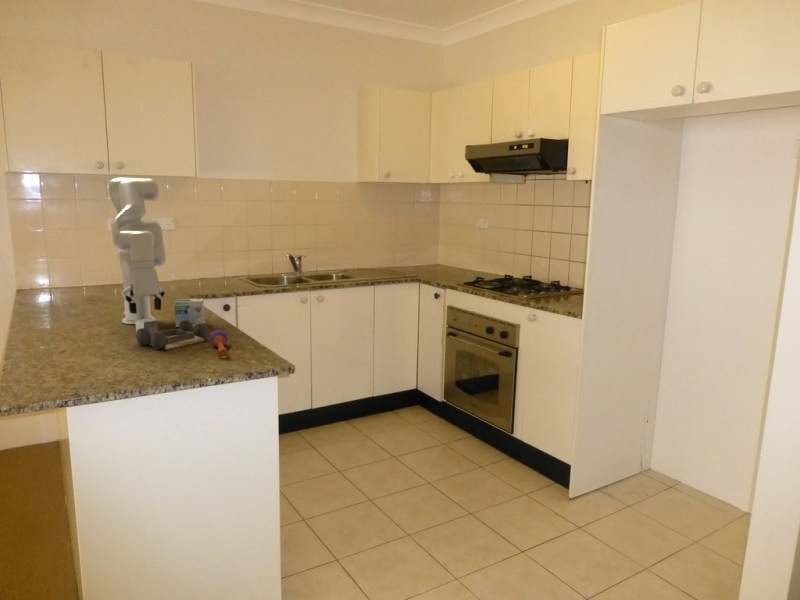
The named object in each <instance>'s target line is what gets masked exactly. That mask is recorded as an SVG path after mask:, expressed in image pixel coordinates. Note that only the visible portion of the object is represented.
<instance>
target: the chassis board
mask: <svg viewBox="0 0 800 600" xmlns="http://www.w3.org/2000/svg"><path fill="white" fill-rule="evenodd" d="M135 335H136V336H135V337H136V340H137V343H138V345H140V344H142V345H144V346H147V344H151V345H152V347H153V349H155V348H157V349H159V350H161V349H162V348H172V347H176V346H181V345H185V344H190V343H194V342H198V341H202V340H204V341H205V340H206V338H207V339H208V336H209V328H208V325H206V323H205V322H204V323H200V324H196V325H195V326H194V327H193V325H192V323H191V322H190V321H189V320H184V321H181V322H180V324H179V328H174V329H167V330H163V331H162V330H161V331H159V330H158V332H154V333H153V334H150V331H149V330H148V329H147V328H141V329H138V330H137V333H136V332H135ZM151 345H150V346H151ZM162 350H163V349H162Z"/></svg>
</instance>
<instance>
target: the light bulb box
mask: <svg viewBox="0 0 800 600" xmlns="http://www.w3.org/2000/svg"><path fill="white" fill-rule="evenodd" d="M204 306H205V305H204V298H177V299H176V300H175V301H174V318H175V319H174V320H175V321H174V322H175V328H176V327H179V324H180V322H181V321H184V320H189V321H190V322H191V323H192V325H193V326H195V325H196V324H200V323H204V324H205V309H204V308H205V307H204Z"/></svg>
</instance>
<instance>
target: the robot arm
mask: <svg viewBox="0 0 800 600" xmlns="http://www.w3.org/2000/svg"><path fill="white" fill-rule="evenodd" d="M107 189H108V193H109V197H110V200H111V202H112V204H113V207H114V208H115V210H116V213H117V214H116V215H115V218H113V221H112V224H111V235H112V236H111V237H112V242H113V246H114V248H115V249H116V250H117V251H118V259H119V264H120V267H121V275H122V284H123V285H122V286H123V290H121V291H120V294H121V295H122V297H123V299H124V300H123V301H124V311H123V312H122V314H123V315H124V316H125V317H123V318H121V323H123V324H125V325H126V324H127V325H136V324H135V321H136V320H142V319H147V318H150V319H155V320H156V318H155V316H153V315H151V301H150V300H151V299H150V297H151V296H152V297H154V300H153V302H154V305H153V306H154V310H155V311H161V310H162V299H163V297H164V295H166V293H165V292H166V290H167V286H165V285H163V284H161V283H159V282H160V281H159V277H158V273H157V270H156V269H158V268H162V267H164V266H165V264H166V249H165V243H164V237H163V236H164V235H163V231H162V230H163V229H162V227H161V225H160V223H158V222H157V221H154V220H142V219H143V217H145V215H146V214H147V213H146V212H147V209H146V203H145V201H146V202H148V201H149V202H153V201H157V200H158V198H159V194H160V190H159V186H158V184H157V182H156V180H154V179H152V178H145V177H144V178H142V177H116V178H113V179H110V181H109V182H108V187H107Z"/></svg>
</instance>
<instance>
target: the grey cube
mask: <svg viewBox="0 0 800 600" xmlns="http://www.w3.org/2000/svg"><path fill="white" fill-rule="evenodd" d="M134 325H135V334H136V333H137V330H138V329H141V328H147V329H148V330H149V331H150V334H153V333H154V332H159V325H158V319H156V318H155V319H150V318H147V319H142V320H136V321H135V324H134Z"/></svg>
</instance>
